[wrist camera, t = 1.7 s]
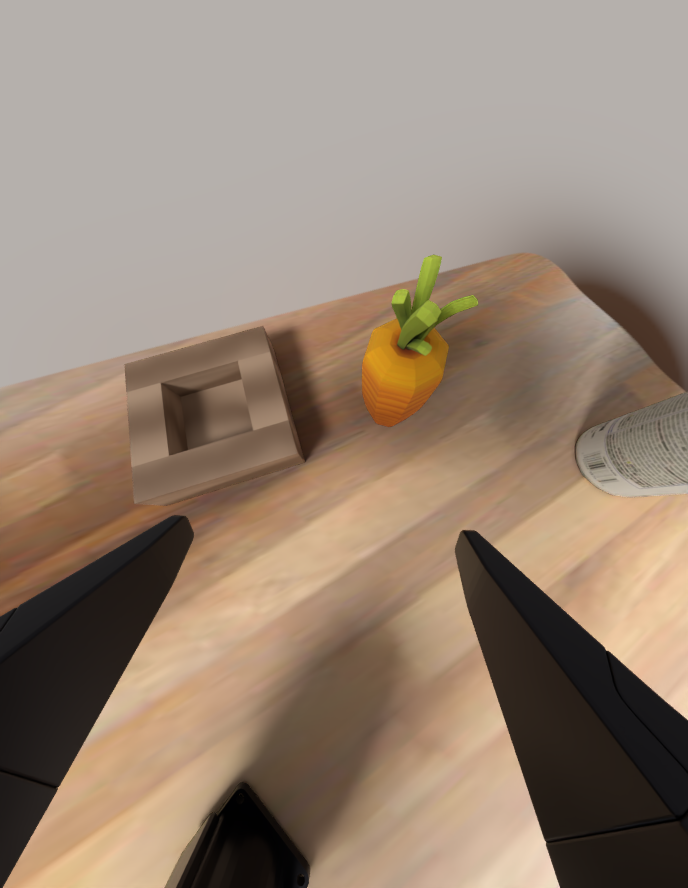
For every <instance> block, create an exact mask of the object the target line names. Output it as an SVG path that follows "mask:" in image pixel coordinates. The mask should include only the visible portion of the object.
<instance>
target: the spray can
mask: <svg viewBox="0 0 688 888" xmlns="http://www.w3.org/2000/svg"><path fill="white" fill-rule="evenodd" d="M576 461H577V464H578V466H579V468H580V471H581V473H582V475H583V476H584V477H585V478H586V479H588V480H589V481H590V482H591V483H592V484H593V485H594V486H596V487H597V488H599V489H601V490H603V491H605V492H607V493H609V494H611V495H616V496H622V497H647V496H661V495H676V494H688V392H685V393H683V394H680V395H677V396H675V397H672V398H669V399H667V400H664V401H661V402H658V403H656V404H653V405H650V406H648V407H645V408H642V409H640V410H637V411H634V412H631V413H629V414H626V415H623V416H621V417H618V418H615V419H613V420H610V421H607V422H604V423H602V424H599V425H597V426H594V427H592V428H591V429H589V430H587V431H586V432H584V433H583V434H582V435H581V436H580V438H579V439H578V441H577V444H576Z"/></svg>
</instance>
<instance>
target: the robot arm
mask: <svg viewBox="0 0 688 888" xmlns="http://www.w3.org/2000/svg"><path fill="white" fill-rule="evenodd" d="M193 538H194V532H193V529H192V527H191V525H190V522H189V520H188V518H187V517H186V516H179V515H174V516H171V517H169V518H167V519H165V520H164V521H162V522H160V523H159V524H157V525H155V526H154V527H152V528H150V529H148V530H147V531H145V532H143V533H142V534H140V535H138V536H137V537H135V538H133V539H132V540H130V541H128V542H126V543H125V544H123V545H121V546H120V547H118V548H116V549H115V550H113V551H111V552H109V553H108V554H106V555H104V556H103V557H101V558H99V559H97V560H96V561H94V562H92V563H91V564H89V565H87V566H86V567H84V568H82V569H80V570H79V571H77V572H75V573H74V574H72V575H70V576H69V577H67V578H65V579H63V580H62V581H60V582H58V583H57V584H55V585H53V586H52V587H50V588H48V589H46V590H45V591H43V592H41V593H40V594H38V595H36V596H35V597H33V598H31V599H29V600H28V601H26V602H24V603H23V604H21V605H20V606H19V607H18V608H14V609H12V610H11V611H9V612H7V613H6V614H4V615H2V616H0V888H3V886H4V884H5V882H6V881H7V879H8V877H9V875H10V874H11V872H12V870H13V868H14V866H15V865H16V863H17V861H18V859H19V858H20V856H21V854H22V852H23V850H24V849H25V847H26V845H27V843H28V842H29V840H30V838H31V836H32V834H33V833H34V831H35V829H36V827H37V826H38V824H39V822H40V820H41V819H42V817H43V815H44V813H45V811H46V810H47V808H48V806H49V804H50V803H51V801H52V799H53V797H54V795H55V794H56V792H57V790H58V787H59V786H60V784H61V783H62V781H63V779H64V777H65V775H66V774H67V772H68V770H69V768H70V767H71V765H72V763H73V761H74V759H75V758H76V756H77V754H78V752H79V751H80V749H81V747H82V745H83V743H84V742H85V740H86V738H87V736H88V735H89V733H90V731H91V729H92V727H93V726H94V724H95V722H96V720H97V719H98V717H99V715H100V713H101V711H102V710H103V708H104V706H105V704H106V703H107V701H108V699H109V697H110V695H111V694H112V692H113V690H114V688H115V687H116V685H117V683H118V681H119V679H120V678H121V676H122V674H123V672H124V671H125V669H126V667H127V665H128V663H129V662H130V660H131V658H132V656H133V655H134V653H135V651H136V649H137V647H138V646H139V644H140V642H141V640H142V639H143V637H144V635H145V633H146V632H147V630H148V628H149V626H150V624H151V623H152V621H153V619H154V617H155V616H156V614H157V612H158V610H159V608H160V607H161V605H162V603H163V601H164V600H165V598H166V596H167V594H168V592H169V590H170V589H171V587H172V585H173V583H174V581H175V579H176V576H177V574H178V572H179V570H180V568H181V565H182V563H183V561H184V559H185V556H186V554H187V552H188V550H189V548H190V545H191V543H192V541H193ZM455 554H456V559H457V564H458V568H459V572H460V577H461V581H462V586H463V590H464V595H465V599H466V603H467V607H468V610H469V613H470V616H471V619H472V622H473V625H474V628H475V631H476V634H477V637H478V641H479V644H480V647H481V650H482V653H483V656H484V659H485V662H486V665H487V668H488V671H489V674H490V677H491V680H492V683H493V686H494V689H495V692H496V695H497V698H498V701H499V704H500V707H501V710H502V713H503V716H504V719H505V722H506V725H507V728H508V731H509V734H510V737H511V740H512V743H513V746H514V749H515V752H516V755H517V758H518V761H519V764H520V767H521V770H522V773H523V776H524V779H525V782H526V785H527V788H528V791H529V794H530V798H531V801H532V804H533V807H534V810H535V813H536V816H537V819H538V822H539V825H540V828H541V831H542V834H543V837H544V839H545V841H546V847H547V850H548V853H549V856H550V859H551V862H552V865H553V868H554V871H555V874H556V877H557V880H558V883H559V886H560V888H688V720H687V719H686V718H685V717H683V716H682V715H681V714H680V713H679V712H678V711H676V710H675V709H674V708H673V707H672V706H670V705H669V704H668V703H667V702H666V701H664V700H663V699H662V698H661V697H660V696H659V695H658V694H656V693H655V692H654V691H653V690H652V689H651V688H650V687H649V686H647V685H646V684H645V683H644V682H643V681H642V680H641V679H639V678H638V677H637V676H636V675H635V674H634V673H633V672H632V671H630V670H629V669H628V668H627V667H626V666H625V665H624V664H623V663H622V662H620V661H619V660H618V659H617V658H616V657H615V656H614V655H613V654H612V653H611V652H609V651H606V650H605V647H604V646H603V645H602V644H600V643H599V642H598V641H597V640H596V639H595V638H594V637H593V636H592V635H590V634H589V633H588V632H587V631H586V630H585V629H584V628H583V627H582V626H581V625H579V624H578V623H577V622H576V621H575V620H574V619H573V618H572V617H571V616H569V615H568V614H567V613H566V612H565V611H564V610H563V609H562V608H561V607H560V606H558V605H557V604H556V603H555V602H554V601H553V600H552V599H551V598H550V597H549V596H547V595H546V594H545V593H544V592H543V591H542V590H541V589H540V588H539V587H537V586H536V585H535V584H534V583H533V582H532V581H531V580H530V579H529V578H528V577H526V576H525V575H524V574H523V573H522V572H521V571H520V570H519V569H518V568H516V567H515V566H514V565H513V564H512V563H511V562H510V561H509V560H508V559H507V558H505V557H504V556H503V555H502V554H501V553H500V552H499V551H498V550H497V549H496V548H494V547H493V546H492V545H491V544H490V543H489V542H488V541H487V540H486V539H484V538H483V537H482V536H481V535H480V534H479V533H478V532H476V531H474V530H462V531H461V532H460V535H459V538H458V541H457V543H456V547H455ZM241 793H242V794H243V796H244V797H241V796H240V795H239V794H241ZM299 874H302V875H304V877H301V876H299ZM309 875H310V867H309V865H308V863H307V861H306V860H305V859H304V857H303V856H302V855H301V853H300V852H299V851H298V849H297V848H296V847H295V846H294V844H293V843H292V842H291V840H290V839H289V838H288V836H287V835H286V834H285V832H284V831H283V830H282V828H281V827H280V826H279V825H278V823H277V822H276V821H275V819H274V818H273V817H272V815H271V814H270V813H269V811H268V810H267V809H266V807H265V806H264V805H263V803H262V802H261V801H260V800H259V798H258V797H257V796H256V794H255V793H254V792H253V790H252V789H251V788H250V786H249V785H248V784H247V783H245V782H242V783H240V784H239V785H238V786H237V787H236V789H235V790H234V791H233V793H232V794H231V796H230V797H229V798H228V800H227V801H226V802H225V804H224V805H223V807H222V808H221V809H220V811H219V812H218V813H217V814H216V812H214V813H211V814H210V815H209V817H208V818H207V819H206V821H205V822H204V823H203V825H202V826H201V827H200V829H199V830H198V832H197V833H196V834H195V836H194V837H193V838H192V840H191V841H190V842H189V844H188V845H187V846H186V848H185V849H184V851H183V852H182V854H181V856H180V858H179V860H178V862H177V864H176V866H175V868H174V870H173V872H172V874H171V876H170V878H169V880H168V882H167V884H166V886H165V888H307V886H308V884H309Z"/></svg>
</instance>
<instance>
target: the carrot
mask: <svg viewBox="0 0 688 888" xmlns="http://www.w3.org/2000/svg"><path fill="white" fill-rule="evenodd" d="M441 259H442V257H440V256H437V255H431V256H428V257H426V258H424V261H423V264H422V267H421V271H420V275H419V279H418V284H417V288H416V292H415V297H414V301H413V306H412V310H411V300H410V295H409V290H404V289H401V290H398V291H396V293H395V294H394V296H393V300H392V307H393V310H394V312H395V314H396V317H397V318H396V319H394V320H392V321H390V322H388V323H386V324H384V325H382V326H380V327H377V328H375V329H374V330H373V332H372V334H371V337H370V340H369V344H368V347H367V350H366V353H365V356H364V359H363V364H362V394H363V398H364V401H365V404H366V407H367V410H368V411H369V413H370V414H371V416H372V418H373V419H374V421H375V423H377V424H379V425H383V426H387V427H392V426H394V425H396V424H397V423H399V422H401V421H403V420H405V419H407V418H408V417H410V416H411V415H413V414H414V413H415V412H416V411H418V410H419V409H420V408H421V407H422V406H423V404H424V403H425V402H426V401H427V400H428V398H429V397H430V396H431V394H432V393H433V392H434V390H435V389H436V388H437V386H438V385H439V383H440V382H441V380H442V377H443V373H444V368H445V363H446V358H447V354H448V348H449V345H448V344H447V343H446V342H445V340H444V339H443V338H442V337H441V335H440V334H439V333H438V332H437V330H436V329H435V328H434V327H435V326H436V325H437V324H439V323H440V322H442V321H444V320H445V319H447V318H448V317H450V316H452V315H454V314H456V313H458V312H461V311H464V310H466V309H469V308H472V307H474V306H477V305H478V300H477V299H476V298H475V297H474V296H473V295H471V296H467V297H463V298H460V299H457V300H455V301H452V302H450V303H449V304H447V305H446V306H445V307H443V308H442V309H439V307H438V306H437V304H435V303H433V302H431V301H429V298H430V295H431V293H432V290H433V287H434V284H435V281H436V278H437V275H438V272H439V268H440V264H441Z"/></svg>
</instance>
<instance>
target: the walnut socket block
mask: <svg viewBox="0 0 688 888" xmlns="http://www.w3.org/2000/svg"><path fill="white" fill-rule="evenodd" d="M125 378H126V392H127V407H128V421H129V436H130V450H131V465H132V479H133V494H134V504H146V505H164V506H167V505H171V504H174V503H177V502H180V501H183V500H187V499H190V498H193V497H196V496H199V495H203V494H206V493H209V492H212V491H215V490H219V489H222V488H225V487H228V486H231V485H235V484H238V483H241V482H244V481H247V480H250V479H254V478H257V477H260V476H263V475H266V474H270V473H273V472H276V471H279V470H282V469H286V468H289V467H292V466H295V465H298V464H302V463H305V460H304V456H303V452H302V449H301V445H300V442H299V438H298V434H297V431H296V427H295V424H294V420H293V416H292V413H291V409H290V405H289V402H288V398H287V395H286V391H285V387H284V384H283V380H282V376H281V373H280V369H279V366H278V362H277V358H276V355H275V351H274V348H273V346H272V344H271V342H270V340H269V338H268V336H267V333H266V331H265V329H264V327H263V326H261V327H258V328H254V329H250V330H247V331H243V332H239V333H236V334H232V335H229V336H225V337H221V338H218V339H214V340H211V341H207V342H203V343H200V344H196V345H192V346H189V347H185V348H182V349H178V350H174V351H171V352H167V353H164V354H160V355H156V356H153V357H149V358H145V359H142V360H138V361H135V362H131V363H127V364H125Z"/></svg>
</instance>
